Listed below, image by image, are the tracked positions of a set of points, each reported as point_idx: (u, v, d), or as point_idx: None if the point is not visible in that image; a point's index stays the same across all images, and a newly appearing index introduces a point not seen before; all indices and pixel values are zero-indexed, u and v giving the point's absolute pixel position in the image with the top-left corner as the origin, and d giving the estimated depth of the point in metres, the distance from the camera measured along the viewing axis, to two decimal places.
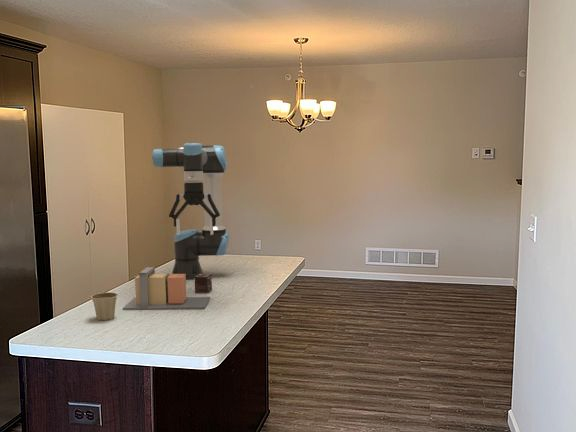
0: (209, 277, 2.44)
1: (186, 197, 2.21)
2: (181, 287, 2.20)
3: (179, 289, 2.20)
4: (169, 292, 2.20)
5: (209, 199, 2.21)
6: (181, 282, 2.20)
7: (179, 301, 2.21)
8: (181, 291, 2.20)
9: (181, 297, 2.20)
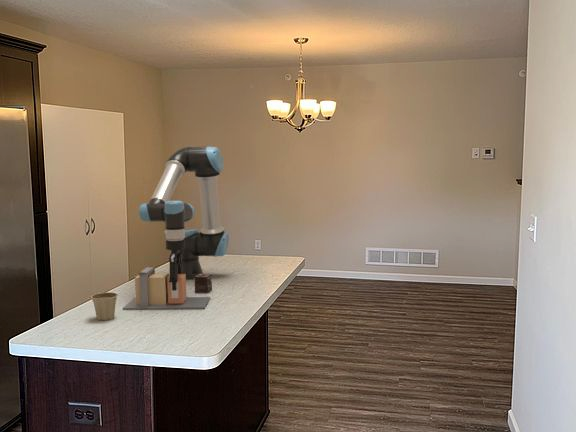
0: (209, 277, 2.44)
1: None
2: (181, 287, 2.20)
3: (179, 289, 2.20)
4: (169, 292, 2.20)
5: None
6: (181, 282, 2.20)
7: (179, 301, 2.21)
8: (181, 291, 2.20)
9: (181, 297, 2.20)
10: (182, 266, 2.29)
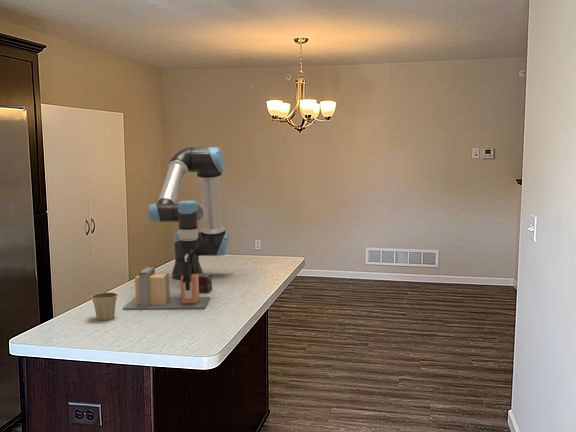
0: (209, 277, 2.44)
1: None
2: (194, 287, 2.20)
3: (192, 289, 2.20)
4: (182, 292, 2.20)
5: None
6: (194, 282, 2.20)
7: (192, 301, 2.20)
8: (194, 291, 2.20)
9: (194, 297, 2.20)
10: (195, 266, 2.29)
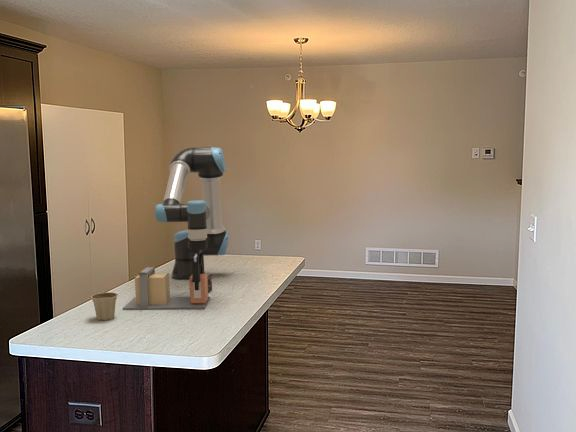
0: (209, 277, 2.44)
1: None
2: (203, 287, 2.20)
3: (201, 289, 2.20)
4: (191, 292, 2.20)
5: None
6: (203, 282, 2.20)
7: (201, 301, 2.20)
8: (203, 291, 2.20)
9: (203, 297, 2.20)
10: None
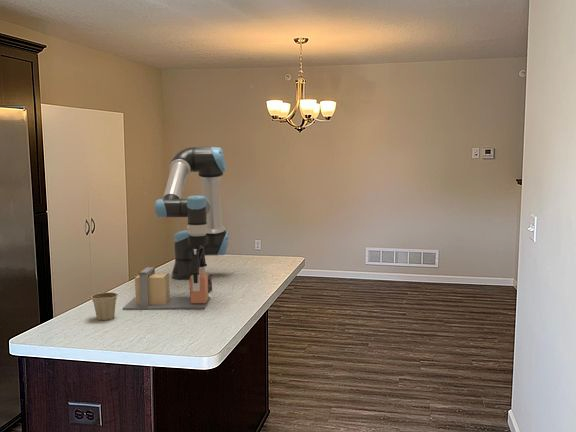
0: (209, 277, 2.44)
1: None
2: (204, 287, 2.20)
3: (201, 289, 2.20)
4: (191, 292, 2.20)
5: (192, 254, 2.16)
6: (204, 282, 2.20)
7: (201, 301, 2.20)
8: (203, 291, 2.20)
9: (203, 297, 2.20)
10: (204, 256, 2.31)
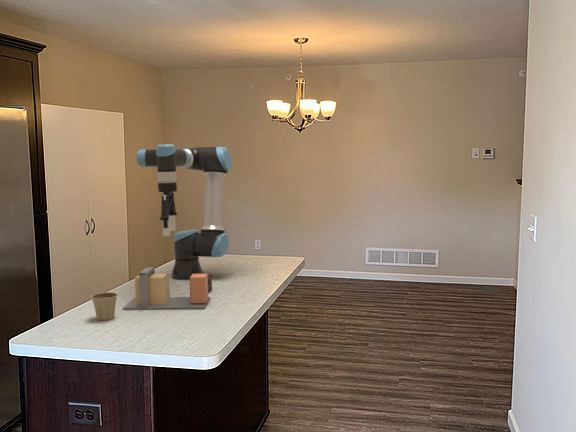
0: (209, 277, 2.44)
1: None
2: (204, 287, 2.20)
3: (201, 289, 2.20)
4: (191, 292, 2.20)
5: None
6: (204, 282, 2.20)
7: (201, 301, 2.20)
8: (203, 291, 2.20)
9: (203, 297, 2.20)
10: (174, 205, 2.37)
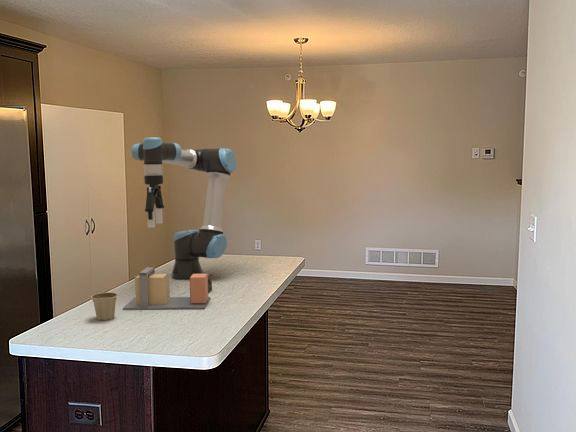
0: (209, 277, 2.44)
1: None
2: (204, 287, 2.20)
3: (201, 289, 2.20)
4: (191, 292, 2.20)
5: None
6: (204, 282, 2.20)
7: (201, 301, 2.20)
8: (203, 291, 2.20)
9: (203, 297, 2.20)
10: None
